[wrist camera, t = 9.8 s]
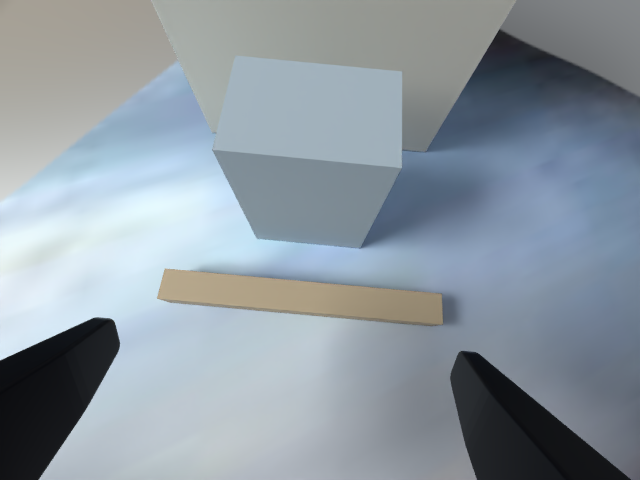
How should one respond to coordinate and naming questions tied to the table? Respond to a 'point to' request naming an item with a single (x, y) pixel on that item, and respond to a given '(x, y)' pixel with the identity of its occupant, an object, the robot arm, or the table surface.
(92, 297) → the table surface
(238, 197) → the pale grey square box
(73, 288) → the table surface
